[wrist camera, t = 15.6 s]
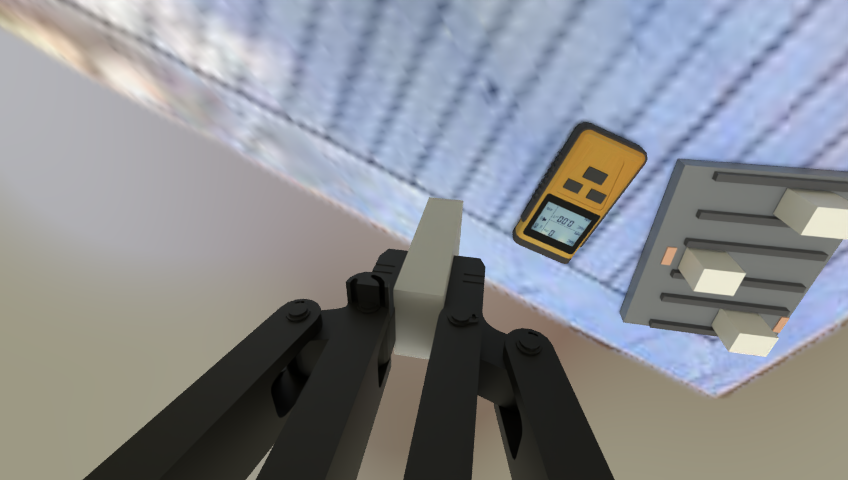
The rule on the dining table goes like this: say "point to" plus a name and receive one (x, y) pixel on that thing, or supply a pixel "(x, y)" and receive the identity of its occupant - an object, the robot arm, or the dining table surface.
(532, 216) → the electronic device
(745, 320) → the tab
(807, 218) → the tab
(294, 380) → the robot arm
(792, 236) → the switch bank
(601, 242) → the dining table surface
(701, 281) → the tab
